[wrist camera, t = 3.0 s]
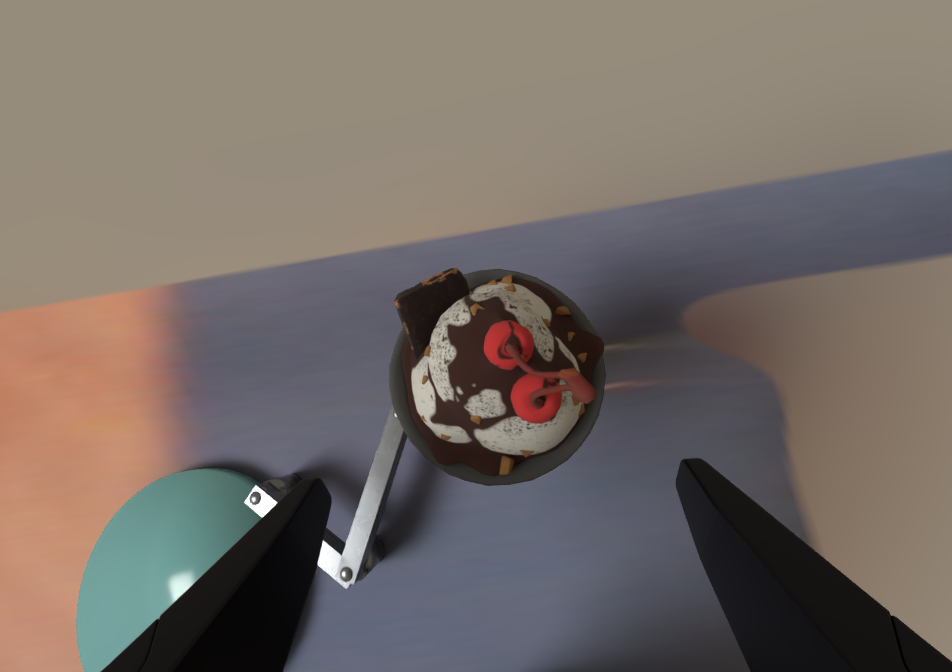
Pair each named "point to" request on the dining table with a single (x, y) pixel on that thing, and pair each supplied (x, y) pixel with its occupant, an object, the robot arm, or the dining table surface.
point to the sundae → (495, 375)
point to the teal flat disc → (157, 555)
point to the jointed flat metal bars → (361, 545)
